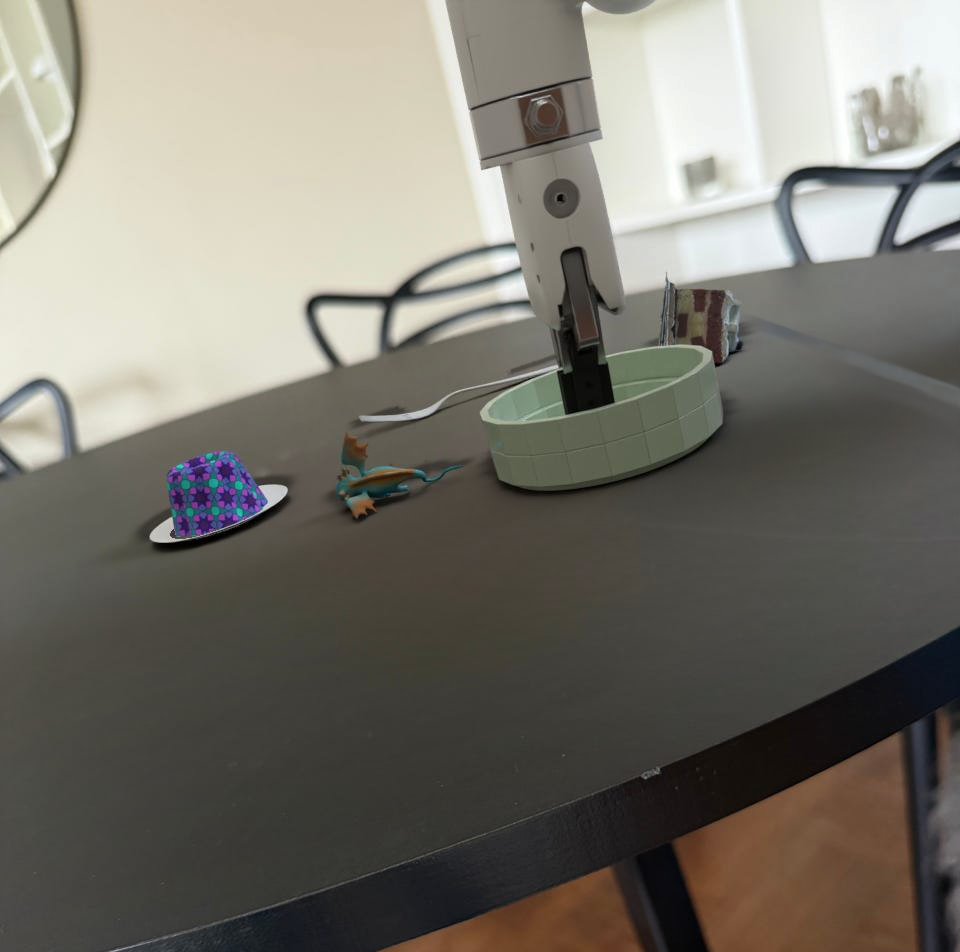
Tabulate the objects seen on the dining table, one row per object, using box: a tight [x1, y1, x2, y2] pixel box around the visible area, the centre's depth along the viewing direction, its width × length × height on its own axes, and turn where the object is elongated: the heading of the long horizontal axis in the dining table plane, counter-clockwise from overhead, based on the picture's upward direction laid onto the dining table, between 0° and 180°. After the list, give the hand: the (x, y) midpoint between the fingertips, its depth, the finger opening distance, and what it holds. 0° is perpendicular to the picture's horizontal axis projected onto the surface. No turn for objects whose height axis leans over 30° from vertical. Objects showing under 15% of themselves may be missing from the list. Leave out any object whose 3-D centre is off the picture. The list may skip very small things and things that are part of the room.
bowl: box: [479, 344, 724, 492], centre depth 72 cm, size 16×16×5 cm
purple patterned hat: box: [149, 450, 288, 544], centre depth 85 cm, size 12×12×5 cm
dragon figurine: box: [335, 431, 464, 519], centre depth 77 cm, size 6×7×8 cm
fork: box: [358, 364, 559, 423], centre depth 102 cm, size 3×24×2 cm, turn 105°
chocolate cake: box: [657, 270, 744, 364], centre depth 91 cm, size 10×7×12 cm
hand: (592, 425), depth 69 cm, fingers closed
